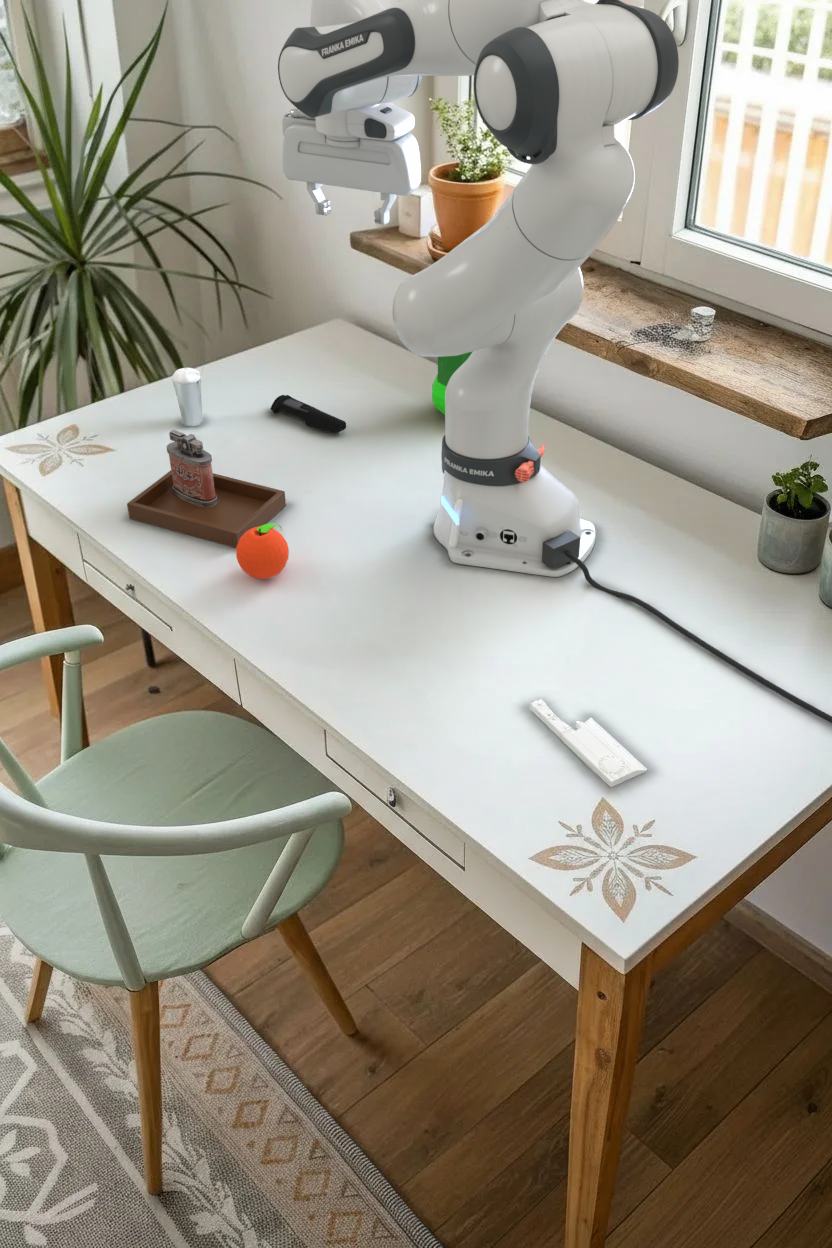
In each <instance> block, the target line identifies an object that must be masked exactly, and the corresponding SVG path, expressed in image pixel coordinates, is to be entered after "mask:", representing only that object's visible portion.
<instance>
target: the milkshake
mask: <svg viewBox="0 0 832 1248" xmlns="http://www.w3.org/2000/svg"><path fill="white" fill-rule="evenodd" d="M204 367H205V365H203V368H202V369H201V372H200V371H199V370H198V369H195V368H193V367H181V368H178V369H176V370H175V371H174V372H173V373H172V377H171V380H172V384H173V388H174V391H175V395H176V398H177V399H176V400H177V403H178V407H179V413H180V417H181V422H182V424H183V425H184V426H186V427H196V426H200V425H201V424H203V422H204V421H203V401H202V373H203V370H204Z"/></svg>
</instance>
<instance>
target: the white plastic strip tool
mask: <svg viewBox="0 0 832 1248" xmlns="http://www.w3.org/2000/svg"><path fill="white" fill-rule="evenodd" d="M529 710H531V712H532V713H534V715H535V716H537V717H538V718H539V719H540V720H541V721H542V722H543V723H544V724H545V725H546V726H547V728H549V729H550V730H551V731H552V732H553V733H554V734H555V735H556V736H557V737H558V738H559V739H560V740H561V741H562V742H563V743H564V744H565V745H566V746H567V748H569V749H570V750H571V751H572V752H573V753H574V754H575V755H576V756H577V757H578V758H579V759H580V760H581V761H582V762H583V763H584V764H585V765H586V766H587V767H588V768H589V769H590V770H591V771H592V772H593V773H594V774H596V775H597V776H598V777H599V778H600V779H602V781H603V782H604V783H605V784H607V785H608V786H609V787H610V788H613V787H614V786H617V785H619V784H621V783H624V782H626V781H628V780H630V779H632V778H635V777H637V776H639V775H642V774H644V773H646V772H647V771H648V768H647V767H646V766H644V765H643V764H642V763H641V762H640V761H639V759H637V758H636V757H635V756H633V754H631V753H630V752H629V751H628V750H627V749H626V748H625V747H624V746H623V745H622V744H621V743H620V742H618V741H617V740H616V739H615V738H614V737H613V736H612V735H611V734H610V733H609V732H608V731H607V730H606V729H604V728H603V727H602V726H601V725H600V724H599V723H598V722H597V721H596V720H595V719H594V718H592V717H590V718H588V719H587V720H586V721H585V722H583V721H581V720H576V721H575V729H574V728H573V727H571V726H570V725H569V724H568V723H566V722H564V721H563V720H562V719H561V718H559V717H558V715H556V714H555V713H554V712H553V711H552V709H551V708H550V707H549V706H548V705H547V703H546V702H545V701H544V700H543V698H540V699H538V700H534V701H533V702H530V703H529Z"/></svg>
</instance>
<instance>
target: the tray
mask: <svg viewBox="0 0 832 1248" xmlns="http://www.w3.org/2000/svg"><path fill="white" fill-rule="evenodd" d="M212 473H213V481H214V488H215V494H216V495H217V504H216V505H214V506H212V507H202V506H198V505H195V504H192V503H190V502H187V501H185V500H183V499H181V498H180V497H178V496H177V495H175V494H174V493H173V478H172V472H171V470H169V471H168V472H166V474H164V475H163V476H161V477H160V478H158V479H157V480H156V481H155V482H153V483H152V484H150V486H148V487H146V489H144V490H143V491H142V492H140V493H138V494H137V495H136V496H134V497H133V498H132V499H131V500H130V501H128V502H127V503H126V507H127V512H128V513H127V514H128V518H129V520H134V521H137V522H140V523H144V524H148V525H151V526H154V527H158V528H162V529H165V530H168V531H169V530H170V531H172V532H177V533H180V534H184V535H186V536H191V537H195V538H198V539H201V540H205V541H208V542H213V543H216V544H218V545H219V544H220V545H223V546H227V547H231V548H234V549H236V547H237V544H238V541H239V539H240V538H241V537H242V535H243V534H244V533H245V532H246V531H248V530H250V529H252V528H254V527H258V526H262V525H264V524H268V523H270V521H271V520H272V519H274V518H275V517H276V516H277V515H278V514H279V513H280V512H281V511H282V510H284V509H285V508H286V507H287V502H286V491H285V490H281V489H277V488H275V487H274V488H273V487H269V486H265V485H262V484H258V483H253V482H249V481H246V480H242V479H239V478H238V479H237V478H234V477H230V476H225V475H222V474H218V473H214V472H212Z"/></svg>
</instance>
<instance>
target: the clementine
mask: <svg viewBox="0 0 832 1248" xmlns="http://www.w3.org/2000/svg"><path fill="white" fill-rule="evenodd" d="M275 526H278V527H279V528H280V530H281V531H283V528H282V526H281V525H280V524H278V523H274V522H273V523H272V522H268V523H266V524H264V525H262V526H258V527H254V528H252V529H250V530H248V531H246V532H245V533H244V534H243V535H242V537H241V538H240V539H239V541H238V544H237V547H236V548H235V550H236V551H235V554H236V555H235V557H236V560H237V561H236V562H237V564H238V566H239V567H240V568H241V570H242V571H243V572H244V573H246V574H247V575H248V576H249V577H252V578H255V579H259V580H264V579H266V580H268V579H270V578H273V577H275V576H277V575H279V574H280V573H281V572H282V571H283V570H284V568H285V567H286V565H287V563H288V560H289V553H290V550H289V549H290V548H289V544H288V542H287V541H286V539H285V537H284V536H283V534H282V533H281V532H279V531H278V530H276V529H275V528H273V527H275Z"/></svg>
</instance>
